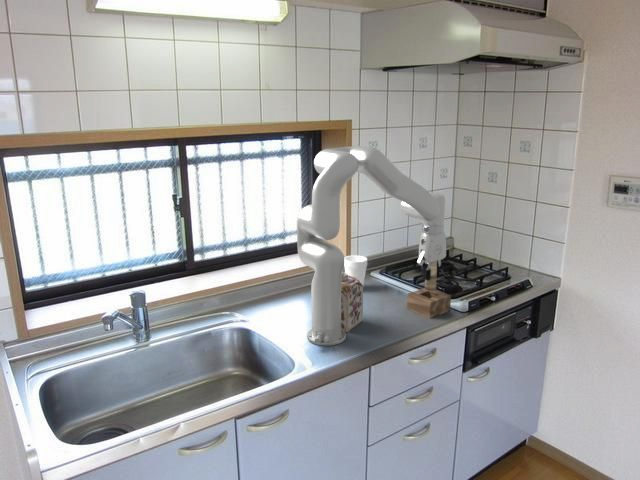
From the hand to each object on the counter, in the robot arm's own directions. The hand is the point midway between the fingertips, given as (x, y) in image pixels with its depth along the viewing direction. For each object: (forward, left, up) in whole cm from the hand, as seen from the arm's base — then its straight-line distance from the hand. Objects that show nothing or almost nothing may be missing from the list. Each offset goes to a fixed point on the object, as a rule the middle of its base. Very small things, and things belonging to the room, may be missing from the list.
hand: (430, 277), depth 187 cm
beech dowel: (0, 0, -4) cm, 4 cm away
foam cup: (+17, +29, -13) cm, 36 cm away
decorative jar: (-17, +30, -13) cm, 37 cm away
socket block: (0, 0, -12) cm, 13 cm away
